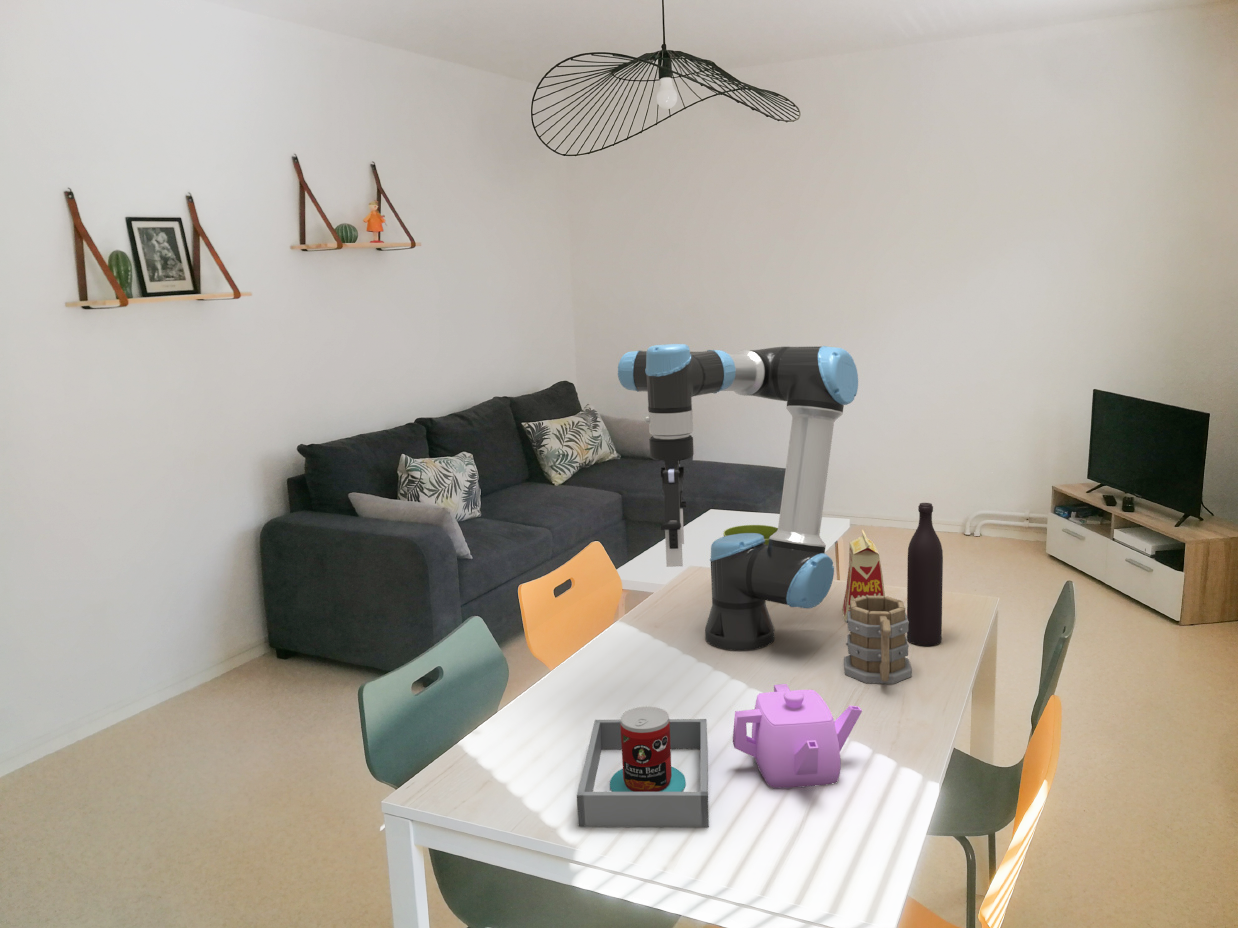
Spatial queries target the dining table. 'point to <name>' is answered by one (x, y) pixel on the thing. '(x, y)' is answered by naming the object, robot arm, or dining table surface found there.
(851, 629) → the tankard
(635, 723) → the canned food
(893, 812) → the dining table surface
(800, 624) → the dining table surface
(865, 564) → the milk carton
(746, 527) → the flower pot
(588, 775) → the grey square tray
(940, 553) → the wine bottle
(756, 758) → the teakettle
